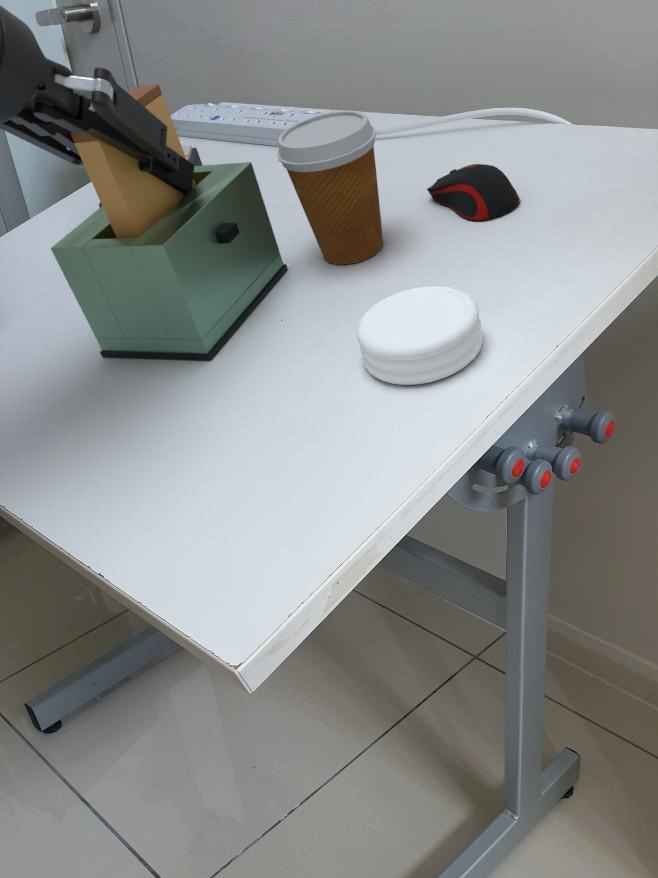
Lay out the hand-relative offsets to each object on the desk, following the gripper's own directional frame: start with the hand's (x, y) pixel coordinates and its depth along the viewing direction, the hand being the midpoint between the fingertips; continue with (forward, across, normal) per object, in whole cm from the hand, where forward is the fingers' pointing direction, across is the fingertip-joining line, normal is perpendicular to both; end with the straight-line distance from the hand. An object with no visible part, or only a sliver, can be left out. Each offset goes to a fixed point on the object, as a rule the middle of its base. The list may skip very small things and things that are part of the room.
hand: (175, 180), depth 80 cm
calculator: (+24, -21, +8) cm, 33 cm away
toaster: (+5, 0, -11) cm, 12 cm away
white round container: (+1, +26, -15) cm, 30 cm away
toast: (-1, 0, -5) cm, 5 cm away
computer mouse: (+21, +22, +5) cm, 31 cm away
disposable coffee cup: (+14, +12, -2) cm, 18 cm away
